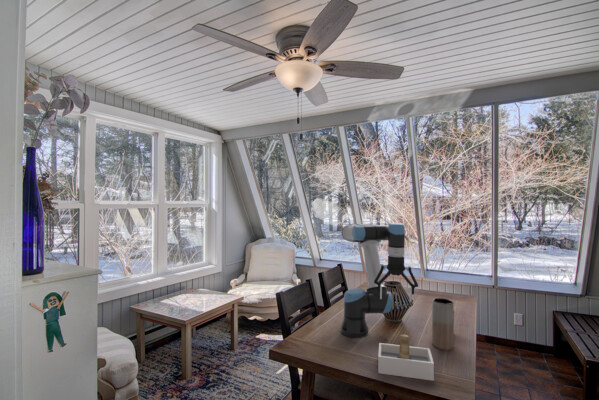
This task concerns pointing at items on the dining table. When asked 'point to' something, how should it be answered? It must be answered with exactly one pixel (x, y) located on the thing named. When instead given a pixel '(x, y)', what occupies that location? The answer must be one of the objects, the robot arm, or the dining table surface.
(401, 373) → the box
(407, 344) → the dowel
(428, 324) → the dining table surface
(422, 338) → the dining table surface
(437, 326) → the planter
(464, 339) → the dining table surface
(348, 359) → the dining table surface
